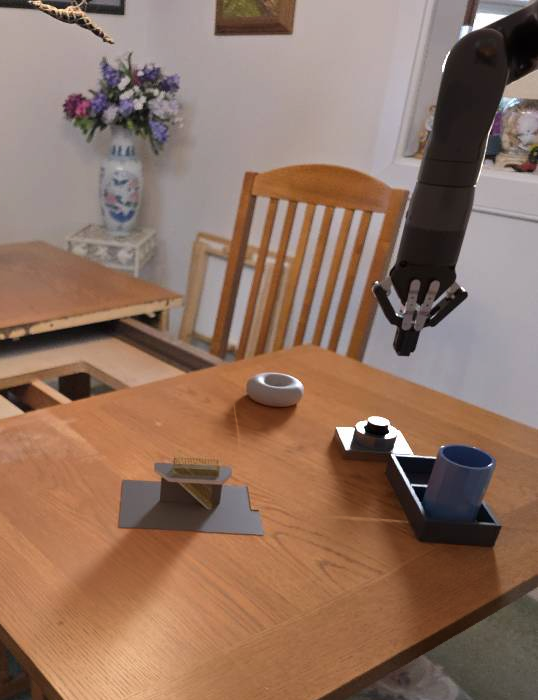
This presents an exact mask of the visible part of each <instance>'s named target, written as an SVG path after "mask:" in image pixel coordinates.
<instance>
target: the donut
mask: <svg viewBox="0 0 538 700" xmlns="http://www.w3.org/2000/svg"><path fill="white" fill-rule="evenodd" d="M245 387H246V389H245V390H246V394H247V396H248V397H249V398H250V399H251V400H253V401H254V402H255V403H258V404H260V405H264V406H268V407H274V408H275V407H276V408H283V407H284V408H285V407H292V406H294V405H296V404H298V403H300V401H301V400H302V399H303V398H304V395H305V389H304V384H302V382H301V381H299V379H297V378H295V377H294V376H291V375H289V374H285V373H281V372H262V373H261V372H260V373H257V374H255V375H252V376H251V377H250V378H249V379H248V381H246V386H245Z"/></svg>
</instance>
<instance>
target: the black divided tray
mask: <svg viewBox="0 0 538 700" xmlns="http://www.w3.org/2000/svg"><path fill="white" fill-rule="evenodd" d="M436 457H437V456H428V455H399V454H390V456H389V460H388V463H386V467H385V470H384V474H385V476H386V478H387V480H388V482H389V484H390V486H391V488H392V490H393V492H394V494H395V496H396V498H397V500H398V502H399V504H400V506H401V508H402V510H403V512H404V514H405V516H406V518H407V520H408V522H409V525H410V526H411V528H412V530H413V533H414V535H415V536H416V538H417V541H418V543H430V544H444V545H445V544H447V545H458V546H459V545H460V546H461V545H462V546H475V547H489V548H494V547H495V545H496V542H497V539H498V537H499V534H500V532H501V529H502V527H503V525H502V524H501V522H500V521H499V520H498V518H497V517H496V515H495V514H494V513H493V511H492V509H491V508H490V507H489V505H488V504H487V503H486V501H485V499H483V501H482V503H481V506H480V509H479V511H478V514H477V517H476V519H475V522H468V521H453V520H438V519H429V517H428V516H427V514H426V512H425V510H424V508H423V506H422V505H421V503H422V500H423V497H424V494H425V491H426V488H427V485H428V482H429V479H430V475H431V472H432V469H433V466H434V463H435V460H436Z"/></svg>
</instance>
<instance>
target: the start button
mask: <svg viewBox="0 0 538 700" xmlns="http://www.w3.org/2000/svg"><path fill="white" fill-rule="evenodd" d="M366 421H367V424H366V428H365V431H367V432H368V433H371V434H375V435H386V434H387V431H388V428H389V425H390V423H391V422H390V421H389V420H388V419H386V418H384V417H380V416H369V417H368V418H367V420H366Z"/></svg>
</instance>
